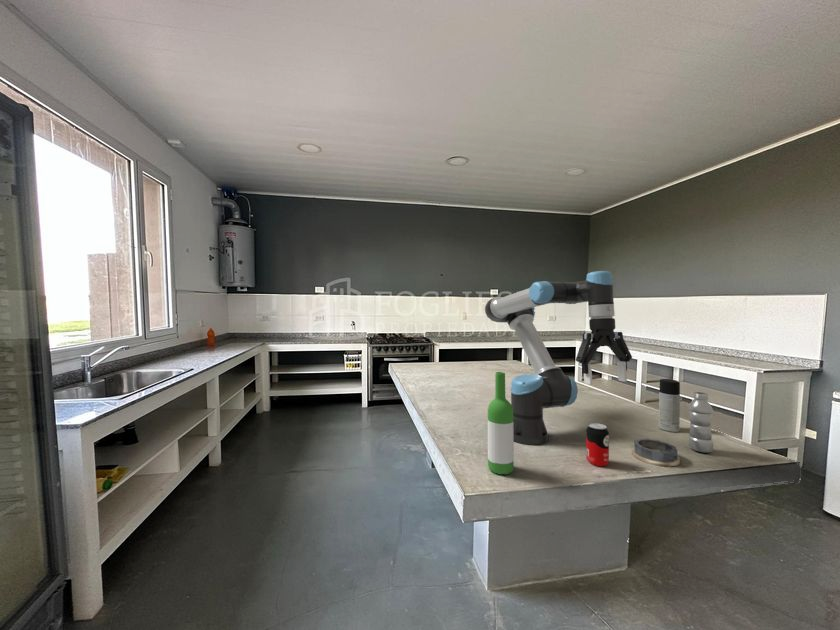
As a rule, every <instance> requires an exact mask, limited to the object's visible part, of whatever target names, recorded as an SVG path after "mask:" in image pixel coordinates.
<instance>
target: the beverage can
mask: <svg viewBox="0 0 840 630" xmlns="http://www.w3.org/2000/svg"><path fill="white" fill-rule="evenodd" d="M585 432H586V433H585V434H586V436H585V437H586V440H585V441H586V442H585V443H586V445H585V446H586V447H585V448H586V451H585V452H586V455H585V456H586V457H585V458H586V461H588V462H589V463H590V465H593V466H596V467H605V466H607V465H608V464H609V463H610V432H609V431H608V426H606V425H605V424H602V423H598V422H590V423H588V427H587V428H586V431H585Z"/></svg>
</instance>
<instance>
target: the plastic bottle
mask: <svg viewBox="0 0 840 630" xmlns="http://www.w3.org/2000/svg"><path fill="white" fill-rule="evenodd" d="M692 398H693V400H692V401H690V403H689V404H688V407H687V409H688V415H689V422H690V425H689V426H690V427H689V435H688V440H687V442H688V446H689V448H690V449H691V450H692V451H696V452H700V453H704V454H706V453H707V454H709V453H712V452H713V450H714V441H713V437H712V419H713V416H714V408H713V407H712V406H711V404H710V403H709V402H708V400H709V395H708V393H705V392H702V391H694V392H693V396H692Z"/></svg>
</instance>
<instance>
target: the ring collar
mask: <svg viewBox="0 0 840 630" xmlns="http://www.w3.org/2000/svg"><path fill="white" fill-rule="evenodd" d="M633 448H634V451H635V453H636V454H638V455H639V456H641V457H643V458H646V459H649V460H652V461H658V462H663V463H667V462H675V461H677V460H678V457H679V456H678V451H679V450H678V449H677V447H676V446H675V445H673V444H671V443H668V442H665V441H663V440H659V439H653V438H652V439H651V438H637V439H635V440H633ZM651 449H654V450H651ZM656 450H659V451H656Z"/></svg>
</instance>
